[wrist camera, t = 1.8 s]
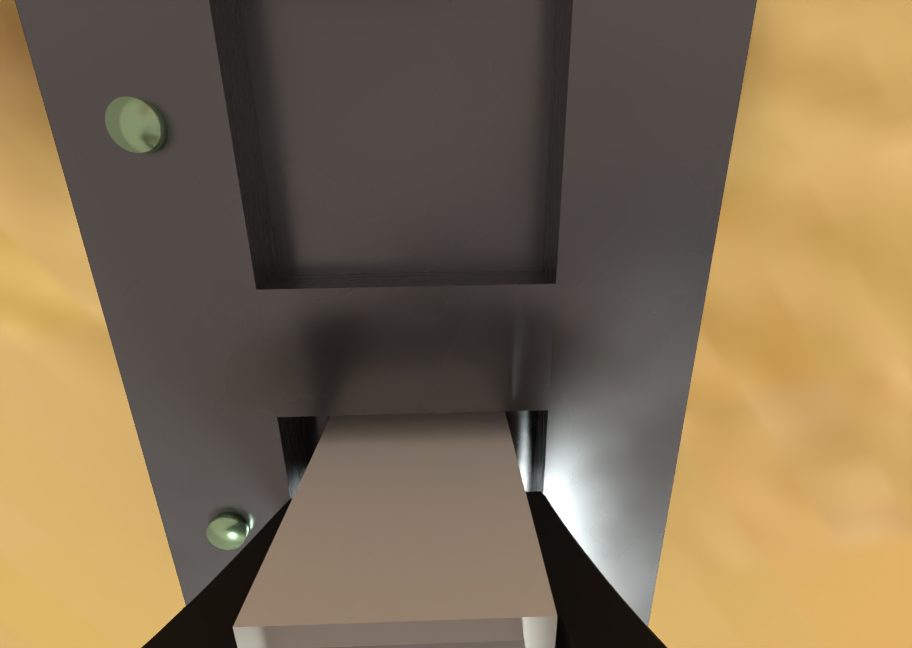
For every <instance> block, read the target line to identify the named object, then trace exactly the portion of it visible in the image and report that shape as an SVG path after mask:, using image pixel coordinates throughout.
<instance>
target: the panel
mask: <svg viewBox="0 0 912 648" xmlns="http://www.w3.org/2000/svg"><path fill="white" fill-rule="evenodd" d="M756 2H757V0H15V3H16V6H17V10H18V13H19V17H20V20H21V24H22V27H23V31H24V35H25V38H26V42H27V45H28V49H29V52H30V56H31V59H32V63H33V66H34V70H35V73H36V77H37V81H38V84H39V88H40V91H41V95H42V98H43V102H44V105H45V109H46V112H47V116H48V119H49V123H50V126H51V130H52V134H53V137H54V141H55V144H56V148H57V151H58V155H59V158H60V162H61V165H62V169H63V172H64V176H65V179H66V183H67V187H68V190H69V194H70V197H71V201H72V204H73V208H74V211H75V215H76V218H77V222H78V225H79V229H80V232H81V236H82V240H83V243H84V247H85V250H86V254H87V257H88V261H89V264H90V268H91V271H92V275H93V278H94V282H95V286H96V289H97V293H98V296H99V300H100V303H101V307H102V310H103V314H104V317H105V321H106V324H107V328H108V331H109V335H110V339H111V342H112V346H113V349H114V353H115V356H116V360H117V363H118V367H119V370H120V374H121V377H122V381H123V384H124V388H125V392H126V395H127V399H128V402H129V406H130V409H131V413H132V416H133V420H134V423H135V427H136V430H137V434H138V438H139V441H140V445H141V448H142V452H143V455H144V459H145V462H146V466H147V469H148V473H149V476H150V480H151V483H152V487H153V491H154V494H155V498H156V501H157V505H158V508H159V512H160V515H161V519H162V522H163V526H164V529H165V533H166V536H167V540H168V544H169V547H170V551H171V554H172V558H173V561H174V565H175V568H176V572H177V575H178V579H179V582H180V586H181V589H182V593H183V597H184V600H185V604H186V606H187V605H188V604H189V603H190V602H191V601H192V600H193V599H194V598H195V597H196V596H197V595H198V594H199V593H200V592H201V591H202V590H203V589H204V588H205V587H206V586H207V585H208V584H209V583H210V582H211V581H212V580H213V579H214V578H215V577H216V576H217V575H218V574H219V573H220V572H221V571H222V570H223V569H224V568H225V567H226V566H227V565H228V564H229V563H230V562H231V561H232V560H233V558H234V557H235V556H236V555H237V554H238V553H239V552H240V551H241V550H242V549H243V548H244V547H245V546H246V545H247V544H248V543H249V542H250V541H251V540H252V538H253V537H254V536H255V535H256V534H257V533H258V532H259V531H260V530H261V529H262V528H263V527H264V526H265V525H266V523H267V522H268V521H269V520H270V519H271V518H272V517H273V516H274V515H275V514H276V513H277V512H278V511H279V510H280V508H281V507H282V506H283V505H284V504H285V503H286V502H287V501H288V500H289V499H291V498H293V496H294V494H295V492H296V490H297V488H298V486H299V483H300V481H301V479H302V477H303V475H304V473H305V471H306V468H307V466H308V464H309V462H310V460H311V458H312V456H313V453H314V451H315V449H316V447H317V445H318V443H319V440H320V438H321V436H322V434H323V432H324V430H325V428H326V425H327V423H328V421H329V419H330V417H331V416H348V415H387V414H426V413H466V412H505V414H506V418H507V422H508V425H509V429H510V433H511V437H512V441H513V445H514V449H515V453H516V457H517V460H518V464H519V468H520V472H521V476H522V480H523V484H524V488H525V492H531V491H541V492H542V493H543V494H544V495H545V496H546V497H547V499H548V501H549V502H550V504H551V505H552V507H553V508H554V510H555V511H556V513H557V514H558V516H559V517H560V518H561V520H562V521H563V523H564V524H565V526H566V527H567V528H568V530H569V531H570V532H571V534H572V535H573V537H574V538H575V539H576V541H577V542H578V543H579V545H580V546H581V547H582V549H583V550H584V551H585V553H586V554H587V555H588V556H589V558H590V559H591V560H592V562H593V563H594V564H595V565H596V567H597V568H598V569H599V570H600V572H601V573H602V574H603V575H604V577H605V578H606V579H607V580H608V582H609V583H610V584H611V585H612V586H613V588H614V589H615V590H616V591H617V592H618V594H619V595H620V596H621V597H622V598H623V599H624V601H625V602H626V603H627V604H628V605H629V606H630V607H631V608H632V610H633V611H634V612H635V613H636V614H637V615H638V616H639V618H640V619H641V620H642V621H643V622H644V623H645V624H646V625H647V626H648V624H649V619H650V613H651V607H652V601H653V595H654V590H655V584H656V578H657V572H658V567H659V561H660V555H661V549H662V544H663V538H664V532H665V526H666V521H667V515H668V509H669V503H670V498H671V492H672V486H673V480H674V475H675V469H676V463H677V457H678V452H679V446H680V440H681V434H682V428H683V423H684V417H685V411H686V405H687V400H688V394H689V388H690V382H691V377H692V371H693V365H694V359H695V354H696V348H697V342H698V336H699V331H700V325H701V319H702V313H703V308H704V302H705V296H706V290H707V285H708V279H709V273H710V267H711V261H712V256H713V250H714V244H715V238H716V233H717V227H718V221H719V215H720V210H721V204H722V198H723V192H724V187H725V181H726V175H727V169H728V164H729V158H730V152H731V146H732V141H733V135H734V129H735V123H736V118H737V112H738V106H739V100H740V94H741V89H742V83H743V77H744V71H745V66H746V60H747V54H748V48H749V43H750V37H751V31H752V25H753V20H754V14H755V8H756Z"/></svg>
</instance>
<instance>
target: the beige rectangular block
mask: <svg viewBox="0 0 912 648" xmlns="http://www.w3.org/2000/svg"><path fill="white" fill-rule="evenodd" d="M556 629H557V612H556V608H555V604H554V600H553V597H552V593H551V589H550V585H549V581H548V577H547V573H546V569H545V565H544V562H543V558H542V554H541V550H540V546H539V542H538V538H537V534H536V530H535V527H534V523H533V519H532V515H531V511H530V507H529V503H528V499H527V495H526V492H525V488H524V484H523V480H522V476H521V472H520V468H519V464H518V460H517V457H516V453H515V449H514V445H513V441H512V437H511V433H510V429H509V425H508V422H507V418H506V414H505V412H466V413H426V414H387V415H348V416H331V417H330V419H329V421H328V423H327V425H326V428H325V430H324V432H323V434H322V436H321V438H320V440H319V443H318V445H317V447H316V449H315V451H314V453H313V456H312V458H311V460H310V462H309V464H308V466H307V468H306V471H305V473H304V475H303V477H302V479H301V481H300V483H299V486H298V488H297V490H296V492H295V494H294V496H293V499H292V501H291V503H290V505H289V507H288V509H287V511H286V514H285V516H284V518H283V520H282V522H281V524H280V526H279V529H278V531H277V533H276V535H275V537H274V539H273V542H272V544H271V546H270V548H269V550H268V552H267V554H266V557H265V559H264V561H263V563H262V565H261V567H260V570H259V572H258V574H257V576H256V578H255V580H254V582H253V585H252V587H251V589H250V591H249V593H248V595H247V597H246V600H245V602H244V604H243V606H242V608H241V610H240V613H239V615H238V617H237V619H236V621H235V623H234V625H233V631H234V636H235V640H236V644H237V648H555V641H556Z"/></svg>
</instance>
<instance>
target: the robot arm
mask: <svg viewBox="0 0 912 648" xmlns="http://www.w3.org/2000/svg"><path fill="white" fill-rule="evenodd" d="M526 495H527V499H528V503H529V507H530V511H531V515H532V519H533V523H534V527H535V530H536V534H537V538H538V542H539V546H540V550H541V554H542V558H543V562H544V565H545V569H546V573H547V577H548V581H549V585H550V589H551V593H552V597H553V600H554V604H555V608H556V612H557V629H556V641H555V648H667V647H666V646H665V645H664V644H663V643H662V642H661V640H660V639H659V638H658V637H657V636H656V635H655V634H654V633H653V632H652V631H651V630H650V629H649V628H648V626H647V625H646V624H645V623H644V622H643V621H642V620H641V619H640V618H639V616H638V615H637V614H636V613H635V612H634V611H633V610H632V608H631V607H630V606H629V605H628V604H627V603H626V602H625V601H624V599H623V598H622V597H621V596H620V595H619V594H618V592H617V591H616V590H615V589H614V588H613V586H612V585H611V584H610V583H609V582H608V580H607V579H606V578H605V577H604V575H603V574H602V573H601V572H600V570H599V569H598V568H597V567H596V565H595V564H594V563H593V562H592V560H591V559H590V558H589V556H588V555H587V554H586V553H585V551H584V550H583V549H582V547H581V546H580V545H579V543H578V542H577V541H576V539H575V538H574V537H573V535H572V534H571V532H570V531H569V530H568V528H567V527H566V526H565V524H564V523H563V521H562V520H561V518H560V517H559V516H558V514H557V513H556V511H555V510H554V508H553V507H552V505H551V504H550V502H549V501H548V499H547V497H546V496H545V495H544V494H543V493H542V492H541V491H531V492H526ZM292 499H293V498H291V499H289V500H288V501H287V502H286V503H285V504H284V505H283V506H282V507H281V508H280V510H279V511H278V512H277V513H276V514H275V515H274V516H273V517H272V518H271V519H270V520H269V521H268V522H267V523H266V525H265V526H264V527H263V528H262V529H261V530H260V531H259V532H258V533H257V534H256V535H255V536H254V537H253V538H252V540H251V541H250V542H249V543H248V544H247V545H246V546H245V547H244V548H243V549H242V550H241V551H240V552H239V553H238V554H237V555H236V556H235V557H234V558H233V560H232V561H231V562H230V563H229V564H228V565H227V566H226V567H225V568H224V569H223V570H222V571H221V572H220V573H219V574H218V575H217V576H216V577H215V578H214V579H213V580H212V581H211V582H210V583H209V584H208V585H207V586H206V587H205V588H204V589H203V590H202V591H201V592H200V593H199V594H198V595H197V596H196V597H195V598H194V599H193V600H192V601H191V602H190V603H189V604H188V605H187V606H186V607H184V608H183V609H182V610H181V611H180V612H179V613H178V614H177V615H176V616H175V617H174V618H173V619H172V620H171V621H170V622H169V623H168V624H167V625H166V626H165V627H164V628H162V629H161V630H160V631H159V632H158V633H157V634H156V635H155V636H154V637H153V638H152V639H151V640H150V641H148V642H147V643H146V644H145V645H144V646H143V647H142V648H237V644H236V640H235V636H234V631H233V625H234V623H235V621H236V619H237V617H238V615H239V613H240V610H241V608H242V606H243V604H244V602H245V600H246V597H247V595H248V593H249V591H250V589H251V587H252V585H253V582H254V580H255V578H256V576H257V574H258V572H259V570H260V567H261V565H262V563H263V561H264V559H265V557H266V554H267V552H268V550H269V548H270V546H271V544H272V542H273V539H274V537H275V535H276V533H277V531H278V529H279V526H280V524H281V522H282V520H283V518H284V516H285V514H286V511H287V509H288V507H289V505H290V503H291V501H292Z"/></svg>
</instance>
